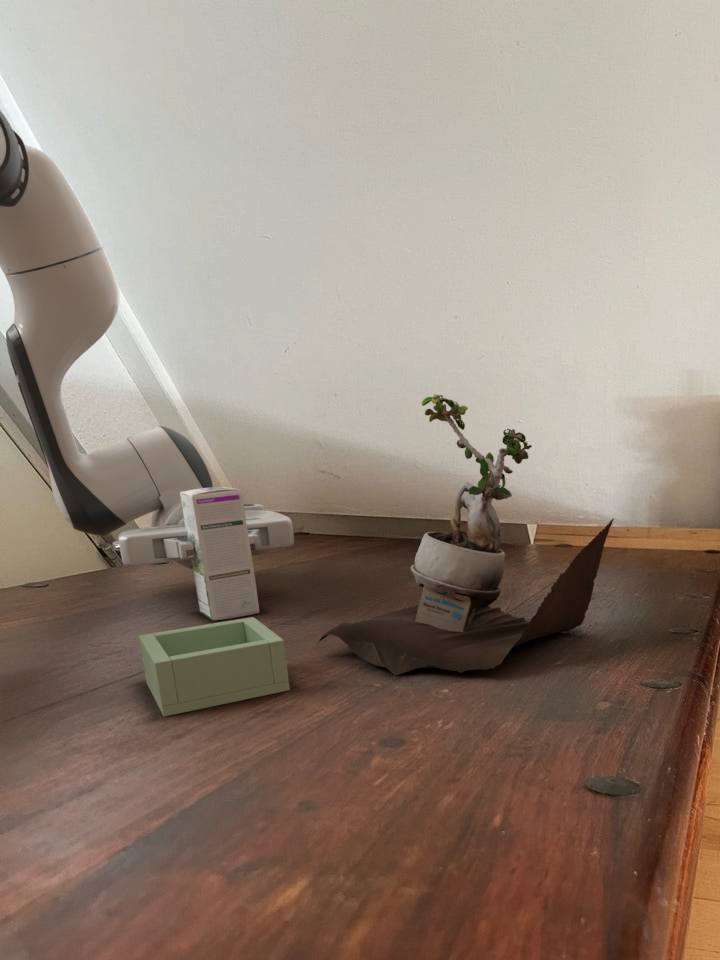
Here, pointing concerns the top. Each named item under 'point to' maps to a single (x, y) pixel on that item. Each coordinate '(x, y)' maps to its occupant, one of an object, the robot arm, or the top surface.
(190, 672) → the socket
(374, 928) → the top surface
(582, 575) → the potted plant
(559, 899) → the top surface
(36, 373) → the robot arm
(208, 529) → the syrup box
